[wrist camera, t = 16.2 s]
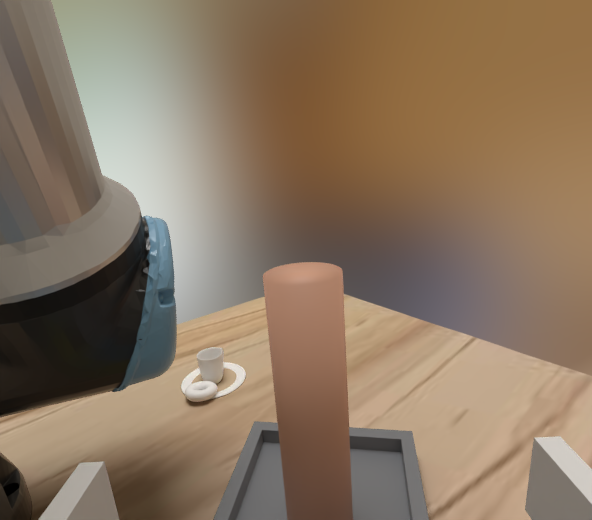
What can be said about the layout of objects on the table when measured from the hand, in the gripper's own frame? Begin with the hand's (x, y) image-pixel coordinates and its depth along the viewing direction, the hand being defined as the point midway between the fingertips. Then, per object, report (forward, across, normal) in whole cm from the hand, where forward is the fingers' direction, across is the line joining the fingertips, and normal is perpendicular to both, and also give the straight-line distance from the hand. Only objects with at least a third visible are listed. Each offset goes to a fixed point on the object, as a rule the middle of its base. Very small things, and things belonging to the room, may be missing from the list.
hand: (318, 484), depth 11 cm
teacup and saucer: (+29, -15, -16) cm, 37 cm away
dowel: (+10, 0, -14) cm, 17 cm away
